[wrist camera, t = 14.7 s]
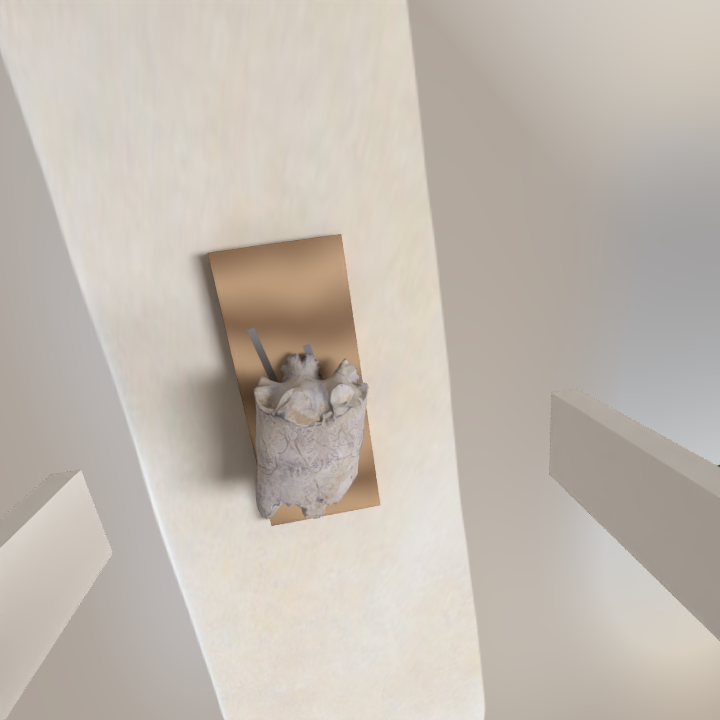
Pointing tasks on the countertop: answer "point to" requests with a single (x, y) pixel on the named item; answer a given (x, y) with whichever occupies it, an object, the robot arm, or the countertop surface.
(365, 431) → the board
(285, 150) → the countertop surface
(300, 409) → the stone
